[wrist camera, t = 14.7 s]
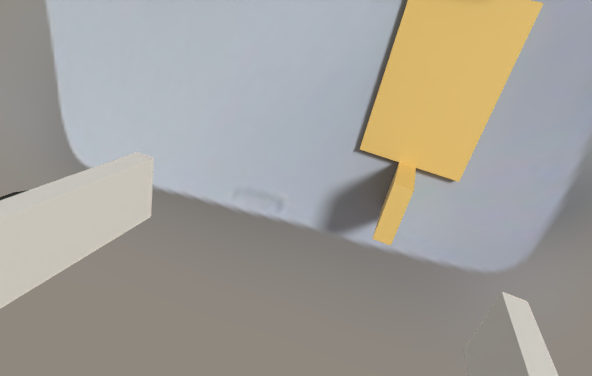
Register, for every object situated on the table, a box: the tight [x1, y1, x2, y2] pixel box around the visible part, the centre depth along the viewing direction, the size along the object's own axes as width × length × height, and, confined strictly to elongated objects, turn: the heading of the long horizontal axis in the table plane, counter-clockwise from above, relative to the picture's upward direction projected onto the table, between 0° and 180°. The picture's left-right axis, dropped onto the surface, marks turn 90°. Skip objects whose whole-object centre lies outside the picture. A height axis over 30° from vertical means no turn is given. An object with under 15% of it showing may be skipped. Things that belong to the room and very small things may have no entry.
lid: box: [360, 0, 543, 246], centre depth 32 cm, size 11×23×8 cm, turn 165°
